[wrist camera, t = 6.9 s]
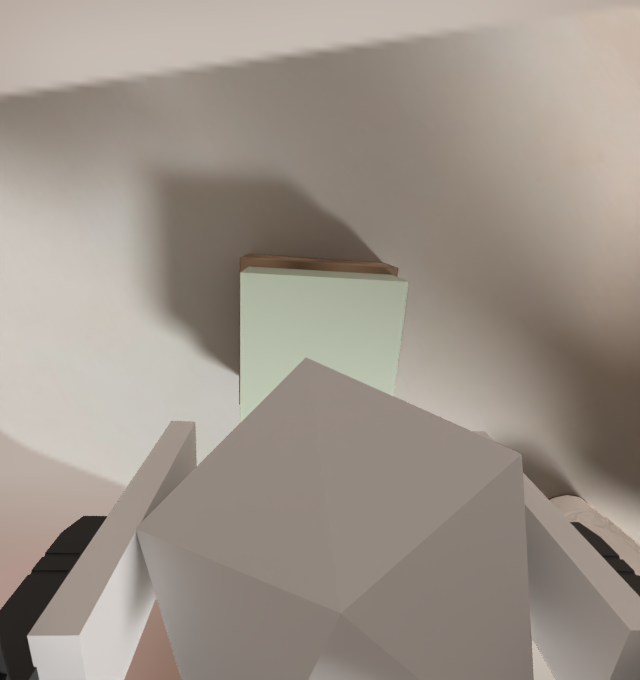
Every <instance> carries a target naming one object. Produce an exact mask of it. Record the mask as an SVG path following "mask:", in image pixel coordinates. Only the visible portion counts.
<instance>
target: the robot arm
mask: <svg viewBox="0 0 640 680" xmlns="http://www.w3.org/2000/svg"><path fill="white" fill-rule="evenodd" d="M472 432H474V433H476V434H479V435H481V436H483V437H485V438H487V439H490V440H492V439H491V438H490V437H489V436H488V434H487V433H486V432H476V431H472ZM492 441H493V440H492ZM196 467H197V466H196V430H195V422H184V421H171V423H170V424H169V426H168V427H167V429H166V430H165V432H164V433H163V435H162V436H161V437H160V439H159V440H158V442H157V443H156V445H155V446H154V448H153V449H152V451H151V452H150V454H149V455H148V457H147V458H146V460H145V461H144V463H143V464H142V466H141V467H140V469H139V470H138V472H137V473H136V475H135V476H134V478H133V479H132V481H131V482H130V484H129V485H128V487H127V488H126V490H125V491H124V493H123V494H122V496H121V497H120V498H119V500H118V501H117V503H116V504H115V506H114V507H113V509H112V510H111V512H110V513H109V515H108V516H83V517H82V518H80V519H79V520H78V521H76V522H75V523H74V524H72V525H71V526H70V527H68V528H67V529H66V530H64V531H63V532H62V533H61V534H60V535H59V537H58V538H57V539H56V540H55V541H54V543H53V544H52V545H51V546H50V548H49V549H48V550H47V552H46V553H45V556H44V557H42V558H41V559H40V560H39V562H38V563H37V564H36V566H35V567H34V568H33V569H32V572H31V574H30V575H28V576H27V577H26V578H25V579H24V581H23V582H22V583H21V585H20V586H19V587H18V588H17V590H16V591H15V592H14V593H13V595H12V596H11V597H10V598H9V600H8V601H7V602H6V604H5V605H4V606H3V607H2V609H1V610H0V680H124V678H125V676H126V673H127V670H128V668H129V666H130V663H131V660H132V658H133V655H134V653H135V650H136V648H137V645H138V642H139V640H140V637H141V635H142V632H143V630H144V627H145V624H146V622H147V619H148V617H149V614H150V611H151V609H152V607H153V604H154V601H155V599H156V595H155V592H154V588H153V585H152V582H151V578H150V575H149V572H148V569H147V565H146V562H145V559H144V555H143V552H142V549H141V546H140V542H139V539H138V536H137V530H136V527H137V526H138V525H139V524H140V523H141V522H142V521H143V520H144V519H145V518H146V517H147V516H148V515H149V514H150V513H151V512H152V511H153V510H154V509H155V508H156V507H157V506H158V505H159V504H160V503H161V502H162V501H163V500H164V499H165V498H166V497H167V496H168V495H169V494H170V493H171V492H172V491H173V490H174V489H175V488H176V487H177V486H178V485H179V484H180V483H181V482H182V481H183V480H184V479H185V478H186V477H187V476H188V475H189V474H190V473H191V472H192V471H193V470H194V469H195V468H196ZM523 482H524V502H525V522H526V541H527V561H528V581H529V601H530V620H531V637H532V639H533V641H534V643H535V644H536V646H537V648H538V650H539V651H540V653H541V655H542V656H543V658H544V660H545V662H546V663H547V665H548V667H549V669H550V670H551V672H552V674H553V676H554V677H555V679H556V680H640V576H639V575H636V574H635V571H634V570H633V569H632V568H631V567H630V566H629V565H628V564H627V563H626V562H625V561H624V560H623V559H620V557H619V555H618V554H617V553H616V552H615V551H614V550H613V549H612V548H611V547H610V546H609V545H608V544H607V543H606V542H605V541H604V540H603V539H602V538H601V537H600V536H598V535H597V534H595V533H594V532H593V531H591V530H590V529H588V528H587V527H585V526H584V525H582V524H581V523H580V522H569V521H568V520H567V519H566V518H565V517H564V515H563V514H562V513H561V512H560V511H559V510H558V509H557V508H556V507H555V506H554V505H553V504H552V503H551V502H550V501H549V499H548V498H547V497H546V496H545V495H544V494H543V493H542V492H541V491H540V490H539V489H538V488H537V487H536V486H535V485H534V484H533V482H532V481H531V480H530V479H529V478H528V477H527V476H526V475H525V474H524V473H523Z"/></svg>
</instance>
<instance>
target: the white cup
mask: <svg viewBox="0 0 640 680" xmlns="http://www.w3.org/2000/svg"><path fill="white" fill-rule="evenodd" d="M549 501H550V502H551V503H552V504H553V505H554V506H555V507H556V508H557V509H558V510H559V511H560V512H561V513H562V514H563V515H564V517H565V518H566V519H567V520H568V521H569V522H580V523H581V524H582V525H584V526H585V527H587V528H588V529H590V530H591V531H593V532H594V533H595V534H597V535H598V536H600V537H601V538H602V539H603V540H604V541H605V542H606V543H607V544H608V545H609V546H610V547H611V548H612V549H613V550H614V551H615V552H616V553H617V554H618V555H619V557H620V559H623V560H624V561H625V562H626V563H627V564H628V565H629V566H630V567H631V568H632V569H633V570H634V571H635V574H636V575H639V576H640V545H639V544H638V543H637V542H635V541H634V540H633V539H632V538H631V537H629V536H628V535H627V534H626V533H625V532H624V531H622V530H621V529H620V528H619V527H617V526H616V525H615V524H613V523H612V522H611V521H610V520H609V519H608V518H606V517H604V516H602V515H601V514H600V513H598V512H597V511H596V510H595V509H594V508H593V507H592V506H590V505H589V504H588V503H587V502H585V501H584V500H583V499H582V498H580V497H576V496H570V495H564V496H559V497H555V498H552V499H550V500H549Z"/></svg>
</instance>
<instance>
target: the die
mask: <svg viewBox="0 0 640 680" xmlns="http://www.w3.org/2000/svg"><path fill="white" fill-rule="evenodd" d="M136 530H137V536H138V539H139V542H140V546H141V549H142V552H143V555H144V559H145V562H146V565H147V569H148V572H149V575H150V578H151V582H152V585H153V588H154V592H155V595H156V598H157V601H158V605H159V608H160V611H161V615H162V618H163V621H164V624H165V628H166V630H167V634H168V637H169V641H170V644H171V647H172V651H173V654H174V657H175V660H176V664H177V667H178V670H179V673H180V677H181V680H534V679H533V662H532V661H533V660H532V640H531V620H530V601H529V581H528V561H527V541H526V522H525V502H524V482H523V463H522V454H521V453H519V452H517V451H514V450H512V449H510V448H508V447H505V446H503V445H501V444H499V443H496V442H494V441H492V440H490V439H487V438H485V437H483V436H481V435H479V434H476V433H474V432H472V431H470V430H467V429H465V428H463V427H461V426H458V425H456V424H454V423H452V422H449V421H447V420H445V419H443V418H441V417H438V416H436V415H434V414H432V413H429V412H427V411H425V410H423V409H420V408H418V407H416V406H414V405H411V404H409V403H407V402H405V401H403V400H400V399H398V398H396V397H394V396H391V395H389V394H387V393H385V392H382V391H380V390H378V389H376V388H373V387H371V386H369V385H367V384H365V383H362V382H360V381H358V380H356V379H353V378H351V377H349V376H347V375H344V374H342V373H340V372H338V371H335V370H333V369H331V368H329V367H327V366H324V365H322V364H320V363H318V362H315V361H313V360H311V359H309V358H305V359H304V360H303V361H302V362H301V363H300V364H299V365H298V366H297V367H296V368H295V369H294V370H293V371H292V372H291V373H290V374H289V375H288V376H287V377H286V378H285V379H284V380H283V381H282V382H281V383H280V384H279V385H278V386H277V387H276V388H275V389H274V390H273V391H272V392H271V393H270V394H269V395H268V396H267V397H266V398H265V399H264V400H263V401H262V402H261V403H260V404H259V405H258V406H257V407H256V408H255V409H254V410H253V411H252V412H251V413H250V414H249V415H248V416H247V417H246V418H245V419H244V420H243V421H242V422H241V423H240V424H239V425H238V426H237V427H236V428H235V429H234V430H233V431H232V432H231V433H230V434H229V435H228V436H227V437H226V438H225V439H224V440H223V441H222V442H221V443H220V444H219V445H218V446H217V447H216V448H215V449H214V450H213V451H212V452H211V453H210V454H209V455H208V456H207V457H206V458H205V459H204V460H203V461H202V462H201V463H200V464H199V465H198V466H197V467H196V468H195V469H194V470H193V471H192V472H191V473H190V474H189V475H188V476H187V477H186V478H185V479H184V480H183V481H182V482H181V483H180V484H179V485H178V486H177V487H176V488H175V489H174V490H173V491H172V492H171V493H170V494H169V495H168V496H167V497H166V498H165V499H164V500H163V501H162V502H161V503H160V504H159V505H158V506H157V507H156V508H155V509H154V510H153V511H152V512H151V513H150V514H149V515H148V516H147V517H146V518H145V519H144V520H143V521H142V522H141V523H140V524H139V525H138V526H137V527H136Z"/></svg>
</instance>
